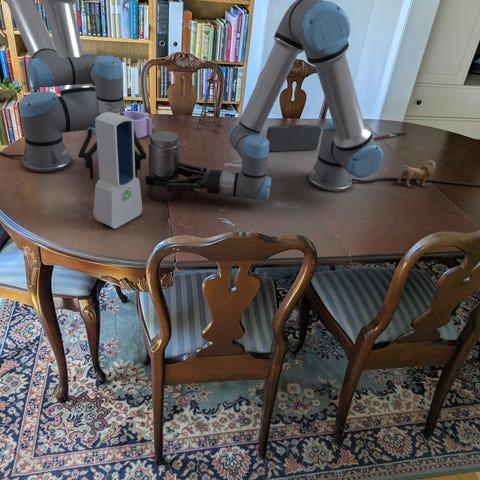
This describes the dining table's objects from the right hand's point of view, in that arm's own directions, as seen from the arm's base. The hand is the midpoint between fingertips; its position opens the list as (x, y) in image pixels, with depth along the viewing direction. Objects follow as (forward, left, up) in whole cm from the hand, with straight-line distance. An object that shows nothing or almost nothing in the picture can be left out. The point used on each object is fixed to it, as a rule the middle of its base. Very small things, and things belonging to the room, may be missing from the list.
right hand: (150, 173), depth 146 cm
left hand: (+10, -6, -4) cm, 12 cm away
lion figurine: (-96, +8, -7) cm, 97 cm away
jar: (-4, +2, -7) cm, 8 cm away
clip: (+1, -53, -7) cm, 53 cm away
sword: (-113, -36, -7) cm, 119 cm away
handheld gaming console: (-63, -29, -7) cm, 69 cm away
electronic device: (+12, +14, -7) cm, 20 cm away
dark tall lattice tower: (-35, -56, -7) cm, 67 cm away
